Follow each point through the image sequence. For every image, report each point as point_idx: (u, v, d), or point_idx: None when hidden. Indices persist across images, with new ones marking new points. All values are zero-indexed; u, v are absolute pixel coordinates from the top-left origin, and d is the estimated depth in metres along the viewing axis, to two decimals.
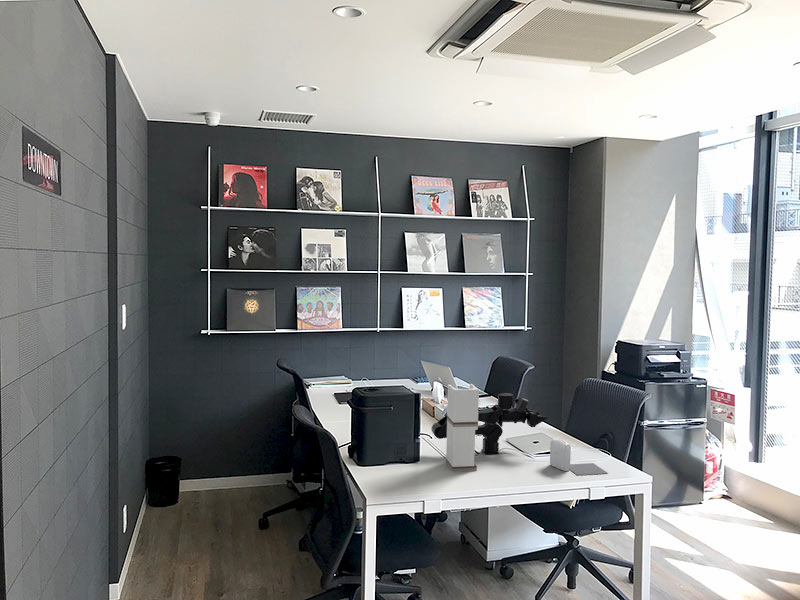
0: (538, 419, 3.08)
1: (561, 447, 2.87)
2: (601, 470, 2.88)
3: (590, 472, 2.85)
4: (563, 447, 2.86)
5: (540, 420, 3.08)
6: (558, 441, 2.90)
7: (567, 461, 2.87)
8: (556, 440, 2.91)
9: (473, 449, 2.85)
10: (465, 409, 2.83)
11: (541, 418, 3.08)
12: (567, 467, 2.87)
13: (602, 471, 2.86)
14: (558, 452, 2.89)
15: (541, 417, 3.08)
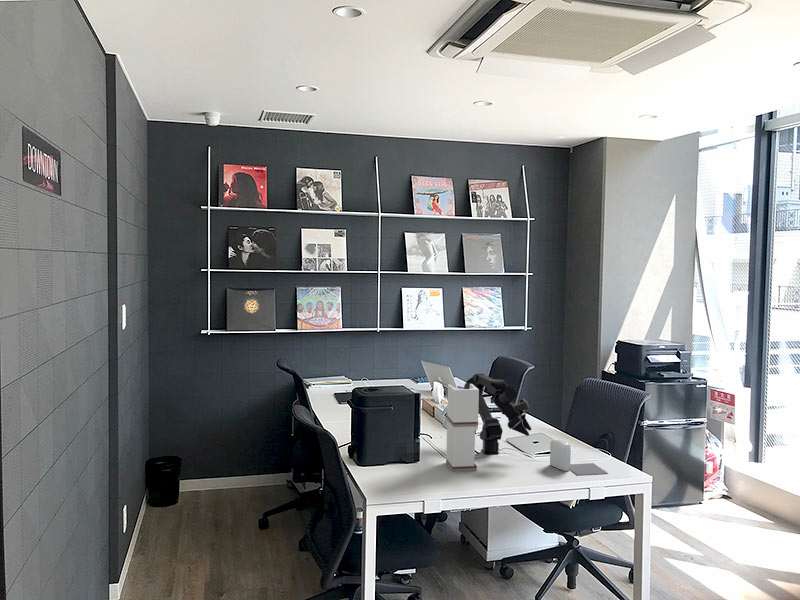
0: (520, 428, 2.93)
1: (561, 447, 2.87)
2: (601, 470, 2.88)
3: (590, 472, 2.85)
4: (563, 447, 2.86)
5: (521, 430, 2.93)
6: (558, 441, 2.90)
7: (567, 461, 2.87)
8: (556, 440, 2.91)
9: (473, 449, 2.85)
10: (465, 409, 2.83)
11: (523, 429, 2.93)
12: (567, 467, 2.87)
13: (602, 471, 2.86)
14: (558, 452, 2.89)
15: (524, 429, 2.92)
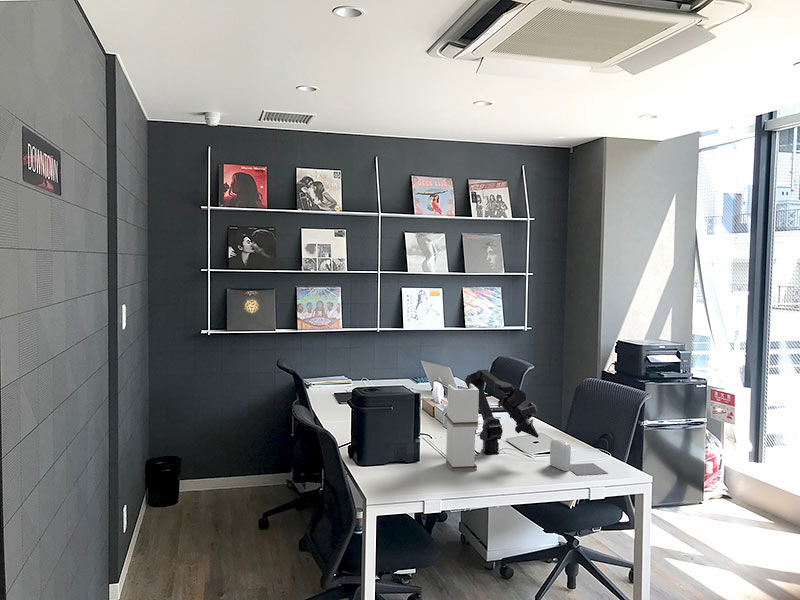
0: (529, 430, 2.93)
1: (561, 447, 2.87)
2: (601, 470, 2.88)
3: (590, 472, 2.85)
4: (563, 447, 2.86)
5: (530, 432, 2.93)
6: (558, 441, 2.90)
7: (567, 461, 2.87)
8: (556, 440, 2.91)
9: (473, 449, 2.85)
10: (465, 409, 2.83)
11: (532, 431, 2.93)
12: (567, 467, 2.87)
13: (602, 471, 2.86)
14: (558, 452, 2.89)
15: (533, 431, 2.93)
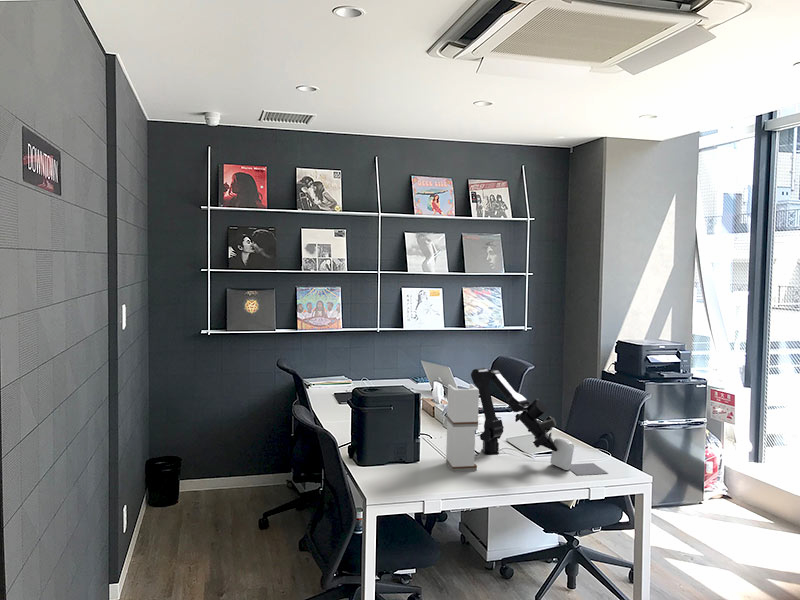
0: (548, 444, 2.91)
1: (565, 446, 2.87)
2: (601, 470, 2.88)
3: (590, 472, 2.85)
4: (567, 445, 2.87)
5: (549, 446, 2.91)
6: (562, 439, 2.91)
7: (568, 460, 2.87)
8: (560, 439, 2.92)
9: (473, 449, 2.85)
10: (465, 409, 2.83)
11: (551, 445, 2.90)
12: (568, 466, 2.87)
13: (602, 471, 2.86)
14: (561, 450, 2.89)
15: (552, 445, 2.90)
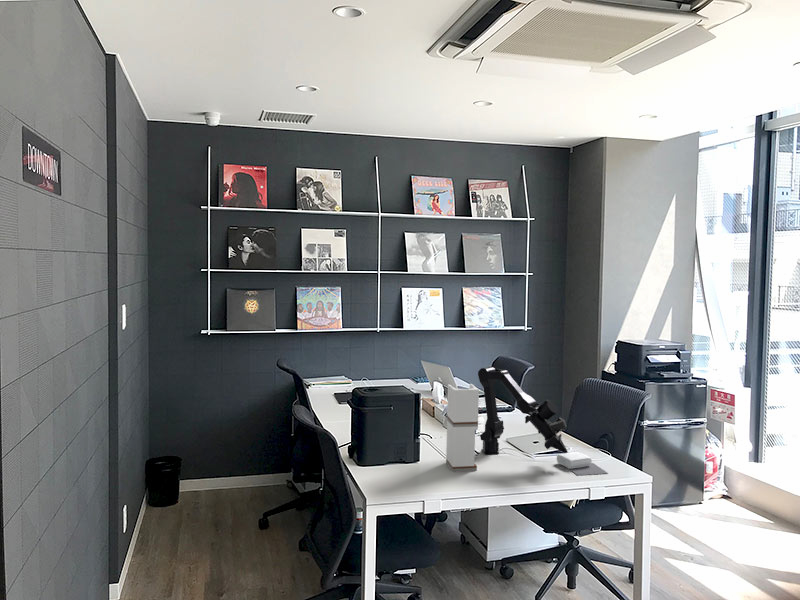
0: (558, 445, 2.90)
1: (587, 456, 2.93)
2: (601, 470, 2.88)
3: (590, 472, 2.85)
4: None
5: (559, 447, 2.89)
6: None
7: (579, 463, 2.89)
8: None
9: (473, 449, 2.85)
10: (465, 409, 2.83)
11: (561, 447, 2.89)
12: (574, 464, 2.88)
13: (602, 471, 2.86)
14: (580, 455, 2.94)
15: (562, 446, 2.89)
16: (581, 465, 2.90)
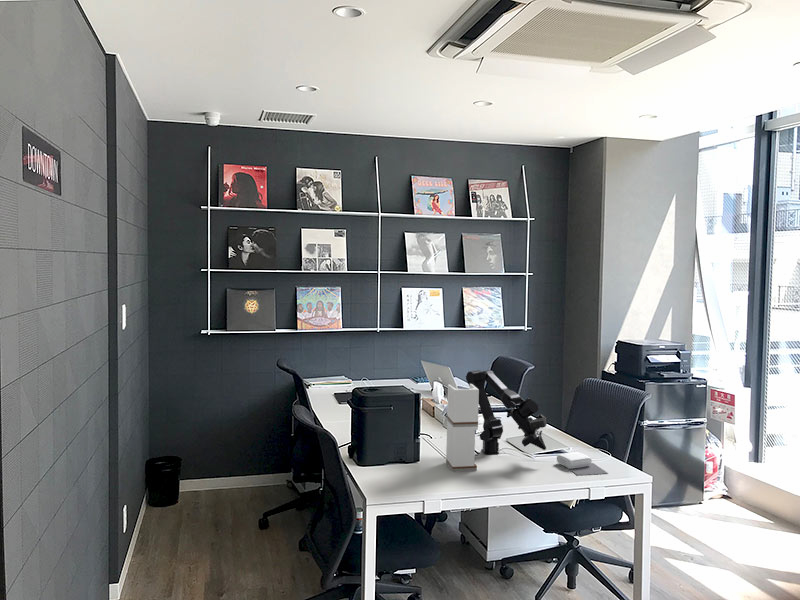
0: (537, 442, 2.93)
1: (587, 456, 2.93)
2: (601, 470, 2.88)
3: (590, 472, 2.85)
4: None
5: (537, 444, 2.93)
6: None
7: (579, 463, 2.89)
8: None
9: (473, 449, 2.85)
10: (465, 409, 2.83)
11: (540, 444, 2.93)
12: (574, 464, 2.88)
13: (602, 471, 2.86)
14: (580, 455, 2.94)
15: (541, 443, 2.93)
16: (581, 465, 2.90)
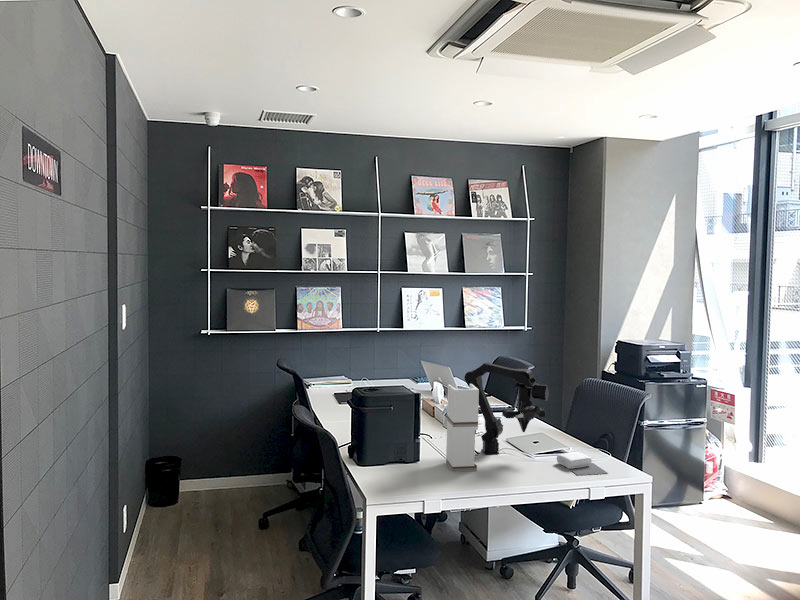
0: (520, 421, 3.02)
1: (587, 456, 2.93)
2: (601, 470, 2.88)
3: (590, 472, 2.85)
4: None
5: (520, 423, 3.03)
6: None
7: (579, 463, 2.89)
8: None
9: (473, 449, 2.85)
10: (465, 409, 2.83)
11: (521, 424, 3.02)
12: (574, 464, 2.88)
13: (602, 471, 2.86)
14: (580, 455, 2.94)
15: (521, 425, 3.02)
16: (581, 465, 2.90)
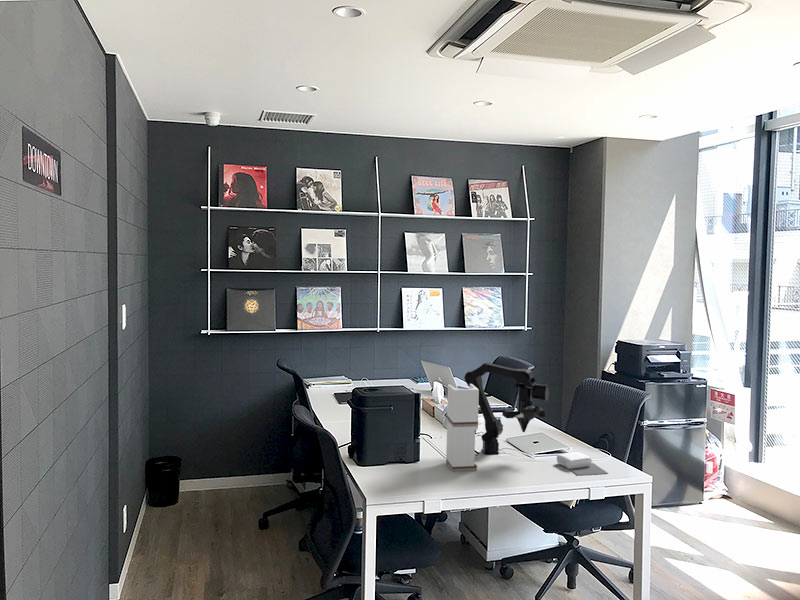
0: (520, 421, 3.02)
1: (587, 456, 2.93)
2: (601, 470, 2.88)
3: (590, 472, 2.85)
4: None
5: (520, 423, 3.03)
6: None
7: (579, 463, 2.89)
8: None
9: (473, 449, 2.85)
10: (465, 409, 2.83)
11: (521, 424, 3.02)
12: (574, 464, 2.88)
13: (602, 471, 2.86)
14: (580, 455, 2.94)
15: (521, 425, 3.02)
16: (581, 465, 2.90)
